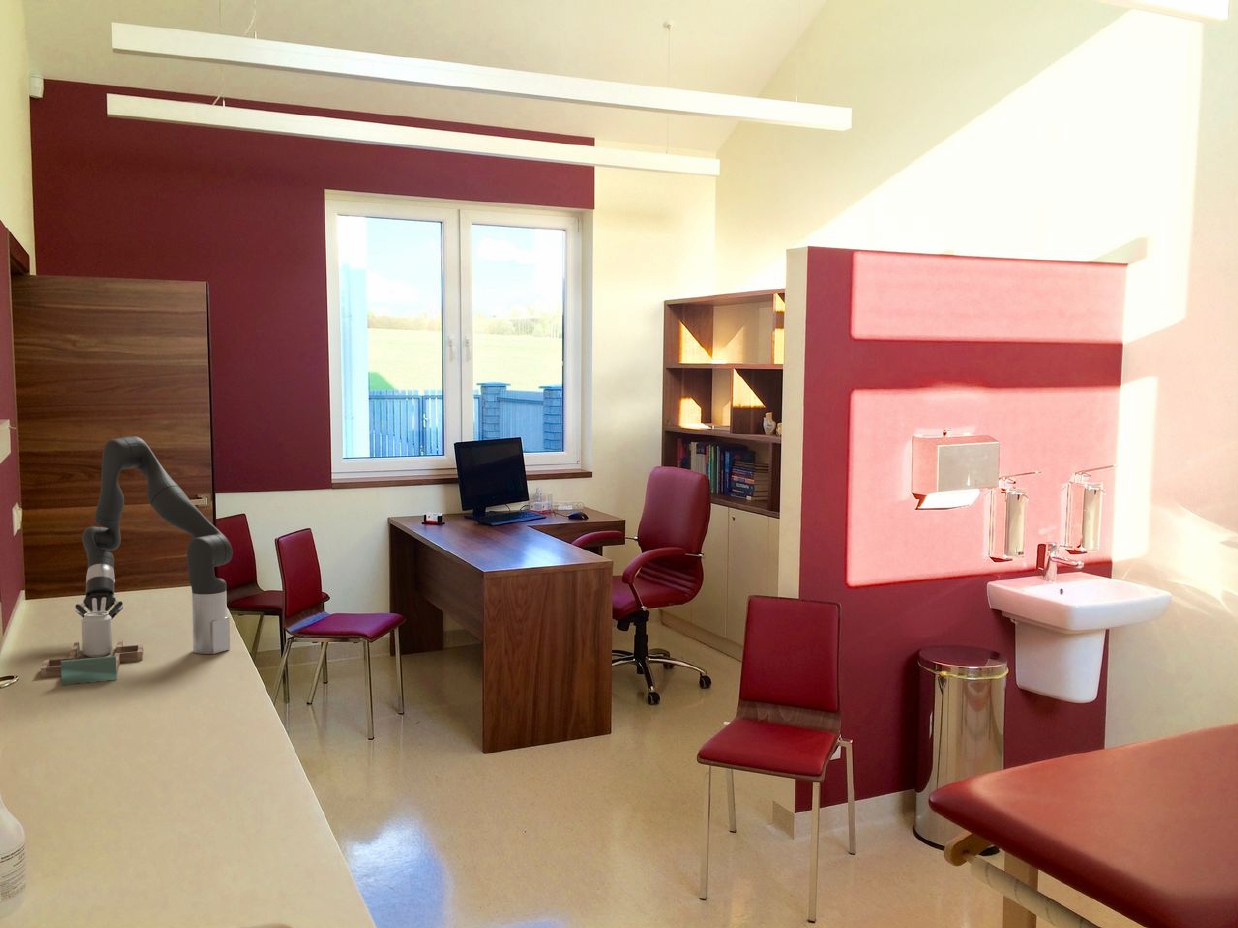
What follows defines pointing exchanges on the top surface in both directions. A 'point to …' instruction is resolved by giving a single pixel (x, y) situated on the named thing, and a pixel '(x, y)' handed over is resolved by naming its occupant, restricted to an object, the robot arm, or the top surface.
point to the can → (96, 634)
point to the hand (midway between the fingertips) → (98, 632)
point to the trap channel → (91, 665)
